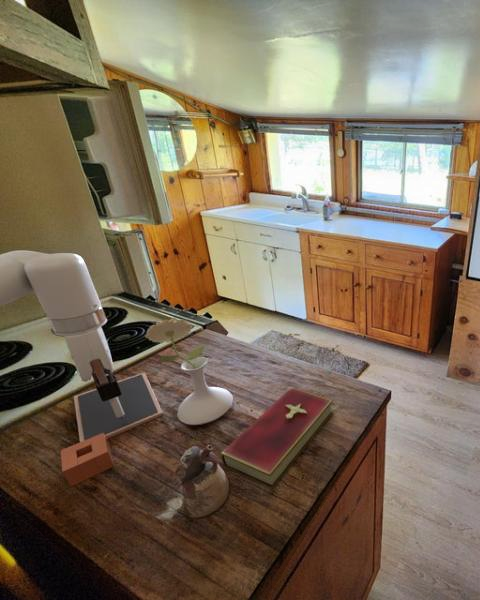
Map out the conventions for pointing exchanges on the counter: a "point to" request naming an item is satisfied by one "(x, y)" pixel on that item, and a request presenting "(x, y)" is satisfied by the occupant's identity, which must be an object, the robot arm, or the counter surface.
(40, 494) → the counter surface
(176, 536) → the counter surface
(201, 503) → the figurine
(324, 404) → the hardcover book
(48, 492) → the counter surface
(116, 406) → the light grey square peg
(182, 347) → the counter surface
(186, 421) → the flower in vase
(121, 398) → the framed chalkboard
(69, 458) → the block
